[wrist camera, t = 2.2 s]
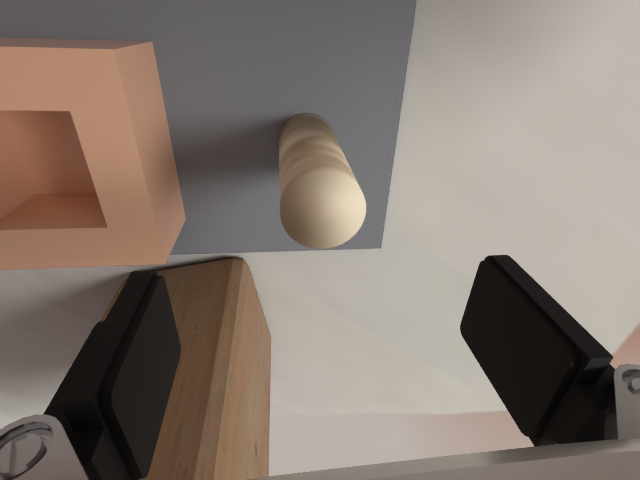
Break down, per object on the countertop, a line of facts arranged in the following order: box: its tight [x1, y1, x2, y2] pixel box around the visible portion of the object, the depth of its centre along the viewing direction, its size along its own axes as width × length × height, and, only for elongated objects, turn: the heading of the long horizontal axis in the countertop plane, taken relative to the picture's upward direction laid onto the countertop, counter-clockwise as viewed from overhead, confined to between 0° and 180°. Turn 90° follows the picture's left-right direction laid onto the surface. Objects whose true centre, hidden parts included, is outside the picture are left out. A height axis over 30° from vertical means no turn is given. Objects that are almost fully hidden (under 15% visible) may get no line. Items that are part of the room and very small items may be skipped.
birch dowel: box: [279, 113, 366, 249], centre depth 19 cm, size 4×4×10 cm
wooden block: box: [101, 257, 271, 480], centre depth 23 cm, size 10×10×20 cm
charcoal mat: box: [0, 0, 416, 255], centre depth 23 cm, size 26×17×1 cm, turn 88°
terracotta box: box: [0, 37, 186, 270], centre depth 20 cm, size 11×11×6 cm
